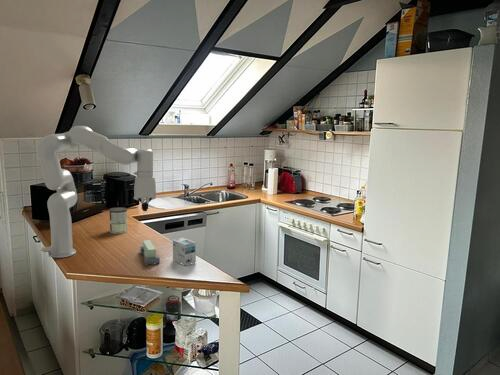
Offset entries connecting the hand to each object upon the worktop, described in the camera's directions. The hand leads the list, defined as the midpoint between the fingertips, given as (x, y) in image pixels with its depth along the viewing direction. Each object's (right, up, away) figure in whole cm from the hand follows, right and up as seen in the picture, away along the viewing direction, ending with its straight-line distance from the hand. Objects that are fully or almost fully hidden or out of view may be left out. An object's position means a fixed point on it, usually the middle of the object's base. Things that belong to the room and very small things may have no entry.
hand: (144, 210), depth 193 cm
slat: (+2, -24, +1) cm, 24 cm away
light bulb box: (+20, -25, -3) cm, 32 cm away
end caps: (+2, -24, +1) cm, 24 cm away
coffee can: (-28, -16, +45) cm, 55 cm away
